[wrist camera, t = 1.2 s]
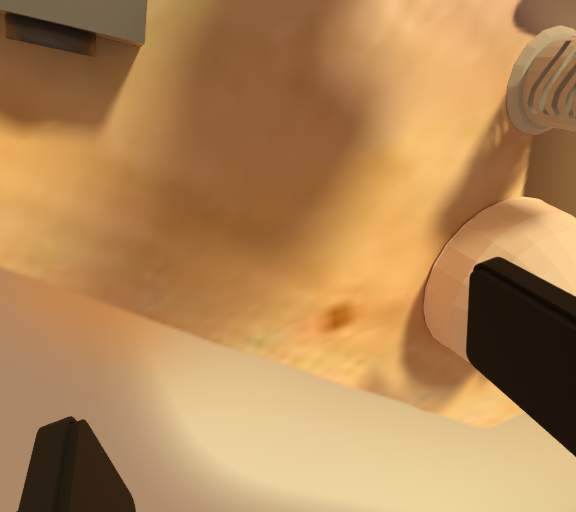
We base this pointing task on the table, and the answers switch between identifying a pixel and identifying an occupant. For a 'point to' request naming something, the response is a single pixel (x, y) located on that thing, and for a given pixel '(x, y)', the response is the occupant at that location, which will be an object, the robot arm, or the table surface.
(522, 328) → the robot arm
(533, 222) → the kettle
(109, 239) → the table surface
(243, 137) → the table surface
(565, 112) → the french press
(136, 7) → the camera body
